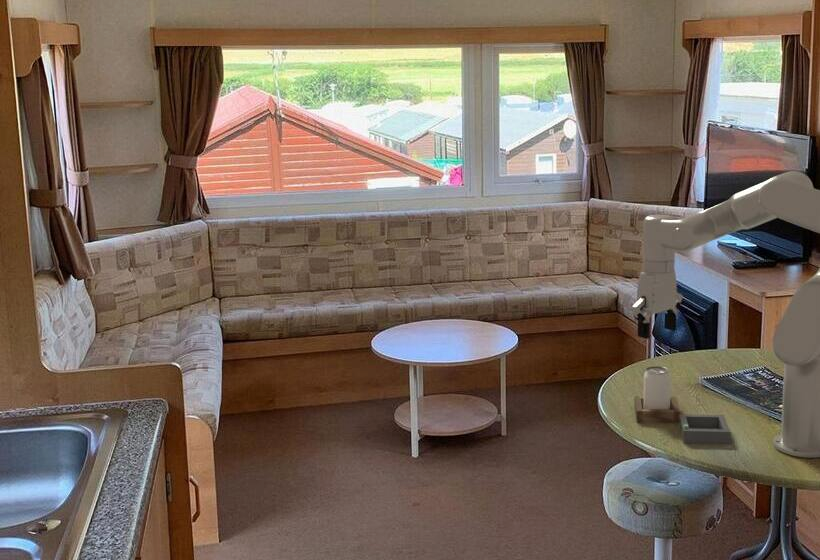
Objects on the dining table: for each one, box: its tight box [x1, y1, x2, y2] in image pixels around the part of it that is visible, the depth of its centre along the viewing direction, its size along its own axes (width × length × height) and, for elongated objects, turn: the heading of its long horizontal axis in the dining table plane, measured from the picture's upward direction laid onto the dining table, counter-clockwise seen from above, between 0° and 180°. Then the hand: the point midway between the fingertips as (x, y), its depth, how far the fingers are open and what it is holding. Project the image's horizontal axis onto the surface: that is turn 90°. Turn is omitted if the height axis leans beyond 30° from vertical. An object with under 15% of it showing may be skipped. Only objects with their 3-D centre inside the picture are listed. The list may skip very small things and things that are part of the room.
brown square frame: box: [633, 395, 681, 424], centre depth 238 cm, size 10×10×3 cm
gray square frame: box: [678, 413, 731, 445], centre depth 225 cm, size 10×10×4 cm
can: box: [643, 365, 672, 410], centre depth 237 cm, size 6×6×12 cm
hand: (656, 333), depth 234 cm, fingers open, 9 cm apart
